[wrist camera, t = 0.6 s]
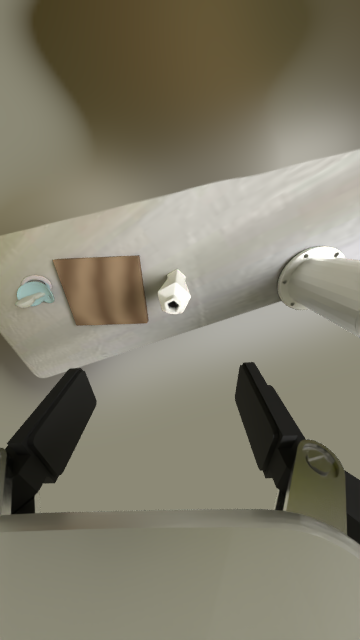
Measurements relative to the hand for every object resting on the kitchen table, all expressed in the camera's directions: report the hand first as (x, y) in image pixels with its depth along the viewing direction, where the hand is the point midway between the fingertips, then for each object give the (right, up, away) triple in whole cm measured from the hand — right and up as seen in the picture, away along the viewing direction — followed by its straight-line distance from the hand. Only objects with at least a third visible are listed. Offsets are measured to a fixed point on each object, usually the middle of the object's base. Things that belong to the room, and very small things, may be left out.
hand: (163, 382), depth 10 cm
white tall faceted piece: (0, +12, +24) cm, 27 cm away
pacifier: (-29, +11, +25) cm, 40 cm away
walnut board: (-15, +10, +25) cm, 31 cm away
